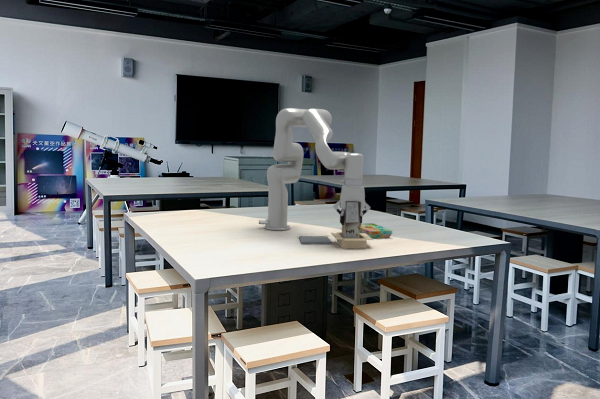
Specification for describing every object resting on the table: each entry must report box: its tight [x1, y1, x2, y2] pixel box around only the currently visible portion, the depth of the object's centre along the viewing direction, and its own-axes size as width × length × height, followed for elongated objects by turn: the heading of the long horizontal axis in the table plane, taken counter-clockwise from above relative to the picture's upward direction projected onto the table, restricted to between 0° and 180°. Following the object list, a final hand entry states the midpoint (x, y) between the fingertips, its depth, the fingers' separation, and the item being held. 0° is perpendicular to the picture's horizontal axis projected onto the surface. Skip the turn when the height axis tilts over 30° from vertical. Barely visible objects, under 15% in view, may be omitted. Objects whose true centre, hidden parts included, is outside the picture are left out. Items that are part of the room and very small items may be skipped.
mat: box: [298, 235, 333, 245], centre depth 217 cm, size 13×13×1 cm
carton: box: [330, 231, 374, 249], centre depth 211 cm, size 15×18×4 cm
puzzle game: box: [359, 222, 393, 239], centre depth 237 cm, size 12×5×20 cm
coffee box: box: [341, 201, 361, 238], centre depth 211 cm, size 9×6×16 cm
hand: (350, 224), depth 211 cm, fingers closed on coffee box, 6 cm apart
